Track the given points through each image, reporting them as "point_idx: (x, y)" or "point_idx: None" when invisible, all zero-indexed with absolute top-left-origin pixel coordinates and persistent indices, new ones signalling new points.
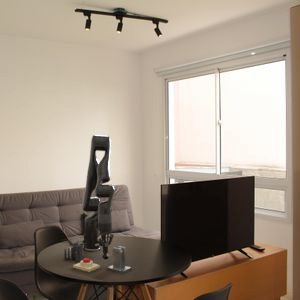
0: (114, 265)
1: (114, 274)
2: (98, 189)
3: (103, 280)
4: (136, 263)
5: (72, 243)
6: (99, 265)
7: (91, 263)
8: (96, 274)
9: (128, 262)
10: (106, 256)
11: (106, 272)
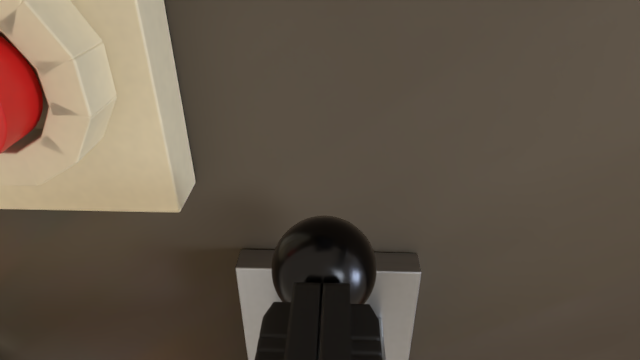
0: None
1: (191, 350)
2: None
3: (11, 355)
4: (625, 347)
5: None
6: (170, 211)
7: (24, 179)
8: (46, 246)
9: (630, 282)
10: None
11: (174, 282)
